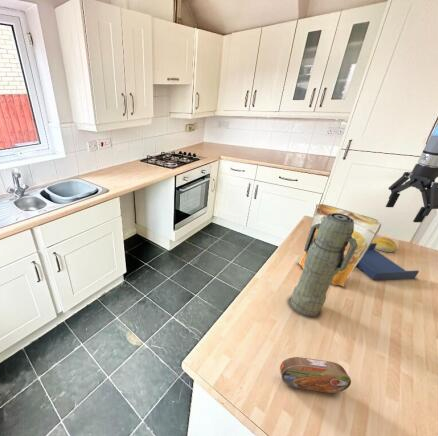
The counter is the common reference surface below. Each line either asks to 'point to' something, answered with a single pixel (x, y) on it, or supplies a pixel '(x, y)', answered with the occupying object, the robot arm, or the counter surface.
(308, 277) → the thermos
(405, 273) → the scoop
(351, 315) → the counter surface
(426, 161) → the robot arm
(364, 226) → the pancake mix bag
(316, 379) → the tin
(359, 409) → the counter surface
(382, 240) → the bread roll
